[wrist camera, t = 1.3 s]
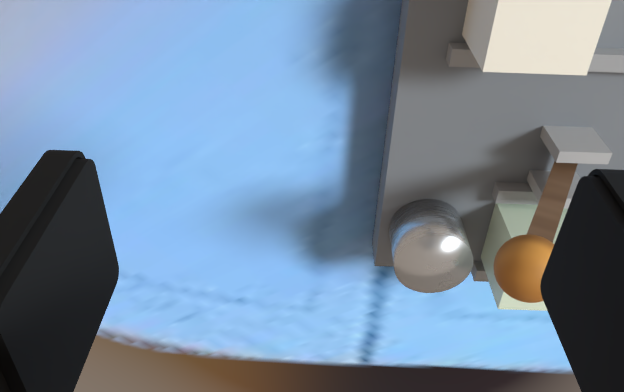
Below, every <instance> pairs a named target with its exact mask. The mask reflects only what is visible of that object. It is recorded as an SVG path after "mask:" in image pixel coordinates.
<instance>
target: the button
mask: <svg viewBox="0 0 624 392" xmlns="http://www.w3.org/2000/svg"><path fill="white" fill-rule="evenodd" d="M389 236H390V243H391V250H392V256H393V263H394V270H395V274H396V276H397V278H398V280H399V281H400V282H401V283H402V284H403V285H404V286H406V287H408V288H409V289H412V290H414V291H418V292H424V293H435V292H441V291H445V290H448V289H451V288H453V287H455V286H457V285H458V284H460V283H461V282H462V281H464V280H465V278H466V277H467V276H468V275H469V273H470V272H471V270H472V267H473V255H472V252H471V249H470V245H469V242H468V239H467V236H466V233H465V230H464V227H463V223H462V220H461V217H460V215H459V213H458V211H457V210H456V209H455V208H454V207H453V206H451V205H450V204H448V203H446V202H444V201H441V200H436V199H422V200H417V201H414V202H411V203H409V204H407V205H405V206H403V207H402V208H401V209H399V210H398V211H397V212H396V213H395V215H394V216H393V217H392V219H391V221H390V225H389Z"/></svg>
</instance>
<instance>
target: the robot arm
mask: <svg viewBox="0 0 624 392" xmlns="http://www.w3.org/2000/svg"><path fill="white" fill-rule="evenodd" d="M118 274H119V266H118V261H117V257H116V252H115V248H114V244H113V239H112V235H111V231H110V227H109V222H108V218H107V214H106V209H105V205H104V201H103V197H102V192H101V188H100V184H99V180H98V175H97V171H96V167H95V164H94V162H93V160H91V159H85V156H84V155H83V153H82V152H80V151H66V150H48V151H46V152H45V153H44V154H43V156H42V157H41V159H40V160H39V161H38V163H37V164H36V165H35V167H34V168H33V170H32V171H31V172H30V174H29V175H28V176H27V178H26V179H25V181H24V182H23V183H22V185H21V186H20V187H19V189H18V190H17V192H16V193H15V194H14V196H13V197H12V198H11V200H10V201H9V203H8V204H7V205H6V207H5V208H4V209H3V211H2V212H1V214H0V392H73V391H74V389H75V386H76V384H77V381H78V379H79V376H80V374H81V371H82V369H83V366H84V363H85V361H86V359H87V356H88V354H89V351H90V349H91V346H92V343H93V341H94V339H95V336H96V334H97V331H98V329H99V326H100V324H101V321H102V319H103V316H104V314H105V311H106V309H107V306H108V304H109V301H110V299H111V296H112V294H113V291H114V289H115V286H116V284H117V281H118ZM540 289H541V295H542V298H543V301H544V303H545V306H546V308H547V310H548V313H549V315H550V317H551V320H552V322H553V325H554V327H555V329H556V332H557V334H558V337H559V339H560V341H561V344H562V346H563V348H564V351H565V353H566V356H567V358H568V360H569V363H570V365H571V368H572V370H573V372H574V375H575V377H576V379H577V382H578V384H579V386H580V389H581V391H582V392H624V170H614V169H594V170H592V171H591V172H590V173H589V175H588V176H584V177H582V178H581V179H580V180H579V182H578V184H577V186H576V189H575V192H574V194H573V197H572V200H571V202H570V205H569V207H568V210H567V213H566V215H565V218H564V220H563V223H562V226H561V228H560V231H559V234H558V236H557V239H556V241H555V244H554V247H553V249H552V252H551V255H550V257H549V260H548V262H547V265H546V268H545V270H544V273H543V275H542V279H541V284H540Z"/></svg>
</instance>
